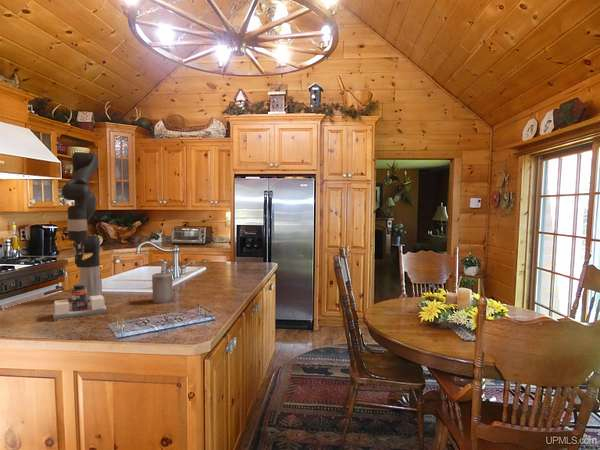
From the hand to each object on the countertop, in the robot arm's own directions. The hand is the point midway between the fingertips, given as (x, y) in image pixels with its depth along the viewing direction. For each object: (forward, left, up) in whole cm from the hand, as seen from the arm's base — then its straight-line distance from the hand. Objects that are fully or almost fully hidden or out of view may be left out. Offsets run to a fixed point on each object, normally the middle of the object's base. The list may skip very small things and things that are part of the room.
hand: (78, 265), depth 159 cm
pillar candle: (-29, +22, -22) cm, 43 cm away
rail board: (0, 0, -22) cm, 22 cm away
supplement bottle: (0, 0, -20) cm, 20 cm away
